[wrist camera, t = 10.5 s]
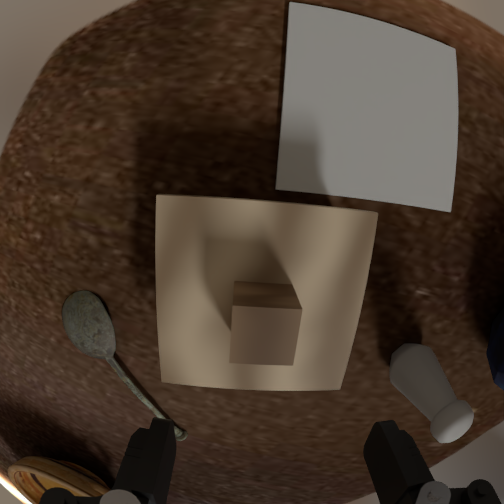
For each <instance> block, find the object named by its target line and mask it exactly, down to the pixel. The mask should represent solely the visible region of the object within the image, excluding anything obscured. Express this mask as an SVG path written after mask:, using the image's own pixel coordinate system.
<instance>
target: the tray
mask: <svg viewBox="0 0 504 504" xmlns="http://www.w3.org/2000/svg"><path fill="white" fill-rule="evenodd" d="M457 139H458V81H457V64H456V52H455V49H454V48H452V47H450V46H448V45H445V44H443V43H441V42H438V41H436V40H433V39H431V38H428V37H426V36H423V35H421V34H418V33H415V32H412V31H410V30H407V29H404V28H401V27H398V26H395V25H392V24H389V23H385V22H382V21H379V20H375V19H372V18H368V17H364V16H360V15H356V14H352V13H348V12H344V11H339V10H335V9H330V8H325V7H319V6H314V5H308V4H301V3H295V2H289V10H288V27H287V42H286V58H285V72H284V87H283V100H282V114H281V127H280V139H279V152H278V164H277V176H276V188H275V189H276V190H287V191H298V192H308V193H318V194H327V195H336V196H344V197H353V198H360V199H368V200H376V201H383V202H390V203H397V204H404V205H410V206H417V207H423V208H429V209H435V210H441V211H447V212H451V206H452V198H453V190H454V181H455V170H456V157H457Z"/></svg>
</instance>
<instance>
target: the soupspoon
mask: <svg viewBox="0 0 504 504" xmlns="http://www.w3.org/2000/svg"><path fill="white" fill-rule="evenodd" d="M62 320H63V325H64V328H65V331H66V333H67V335H68V337H69V339H70V340H71V342H72V343H73V344H74V345H75V346H76V347H77V348H78V349H79V350H80V351H82V352H83V353H85V354H87V355H89V356H91V357H94V358H99V359H106V360H107V362H108V363H109V364H110V365H111V367H112V368H113V369H114V371H115V372H116V373H117V374H118V376H119V377H120V378H121V379H122V380H123V382H124V383H125V384H126V385H127V386H128V387H129V388H130V389H131V390H132V392H133V393H134V394H135V395H136V396H137V397H138V398H139V399H140V400H141V401H142V402H143V403H144V404H145V405H146V406H147V407H148V408H149V409H150V410H151V411H152V412H153V413H154V414H155V415H156V416H157V417H158V418H163V419H166V418H165V417H164V416H163V415H162V414H161V413H160V412H159V411H158V410H157V409H156V407H155V406H154V405H153V404H152V403H151V402H150V401H149V400H148V399H147V398H146V397H145V396H144V395H143V394H142V393H141V391H140V390H139V389H138V388H137V387H136V386H135V385H134V384H133V382H132V381H131V380H130V379H129V377H128V376H127V375H126V373H125V372H124V371H123V369H122V368H121V367H120V365H119V364H118V363H117V361H116V360H115V358H114V357H113V355H114V352H115V347H116V341H115V333H114V328H113V325H112V322H111V319H110V317H109V316H108V313H107V311H106V310H105V308H104V306H103V304H102V302H101V300H100V299H99V298H98V297H97V296H95V295H94V294H92V293H91V292H90V291H78V292H75V293H73V294H72V295H70V296H69V297H68V298H67V299H66V301H65V303H64V305H63V309H62ZM174 430H175V436H176V439H177V440H178V441H181V440H184V439H185V438H186V437H187V435H188V433H187V432H186V431H182V430H181V429H178V428H177V427H176V426H174Z"/></svg>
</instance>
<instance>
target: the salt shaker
mask: <svg viewBox="0 0 504 504" xmlns="http://www.w3.org/2000/svg"><path fill="white" fill-rule="evenodd" d="M390 381H391V383H392V384H393V385H394V386H395V387H396V388H397V389H398V390H399V391H400V392H401V393H402V394H403V395H404V396H406V397H407V398H408V399H409V400H410V401H411V402H412V403H413V404H414V405H415V406H416V407H417V408H418V409H419V410H420V411H421V412H422V413H423V414H424V415H425V416H426V417H427V418H428V419H429V420H430V421H431V427H430V430H431V433H432V435H433V436H434V437H435V438H436V439H437V440H438V441H439V442H440V443H449V442H452V441H454V440H456V439H458V438H459V437H461V436H462V435H463V434H464V433H465V432H466V431H467V430H468V429H469V427H470V426H471V424H472V421H473V417H474V413H473V411H472V409H471V407H470V405H469V404H468V403H467V402H466V401H464V400H457V398H456V396H455V394H454V392H453V390H452V388H451V386H450V384H449V382H448V380H447V378H446V376H445V374H444V372H443V370H442V368H441V366H440V364H439V362H438V360H437V358H436V356H435V354H434V352H433V351H432V349H431V348H430V347H428V346H424V345H421V344H413V343H404V344H403V345H402V346H400V347H399V348H398V349H397V350H396V351H395V352H393V353H392V356H391V362H390Z"/></svg>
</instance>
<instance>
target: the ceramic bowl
mask: <svg viewBox="0 0 504 504" xmlns="http://www.w3.org/2000/svg"><path fill="white" fill-rule="evenodd" d="M8 475H9V477H10V480H11V481H12V483H13V484H14V486H15V487H16V488H17V489H18V490H19V491H20V493H21V494H22V495H23V496H24V497H25V498H27V499H28V500H29V501H30V502H31V503H32V504H39V502H40V499H41V497H42V495H43V493H44V492H45V491H46V490H48V489H50V488H54V487H60V488H64V489H67V490H69V491H70V492H71V493H72V494H73V495H74V496H85V497H97V496H101V495H104V494H105V493H107V492H109V491H110V490H111V489H110V488H109V487H107V485H106V484H105V482H104V481H103V480H101V479H100V478H99V477H98V476H96V475H95V474H94V473H92V472H90V471H89V470H87V469H85V468H83V467H81V466H79V465H76V464H74V463H71V462H67V461H57V460H54V459H51V458H47V457H42V456H28V457H24V458H22V459H20V460H18V461H17V462H15V463H14V465H11V466H9V468H8Z"/></svg>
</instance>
